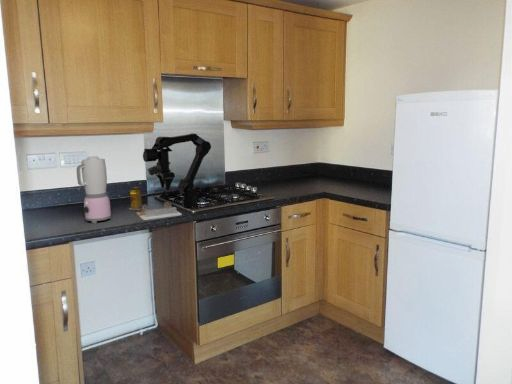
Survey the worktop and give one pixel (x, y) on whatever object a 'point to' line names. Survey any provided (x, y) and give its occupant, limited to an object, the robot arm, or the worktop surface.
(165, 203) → the rack
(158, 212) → the rail
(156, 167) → the robot arm
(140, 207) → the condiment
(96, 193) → the blender
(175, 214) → the mat
